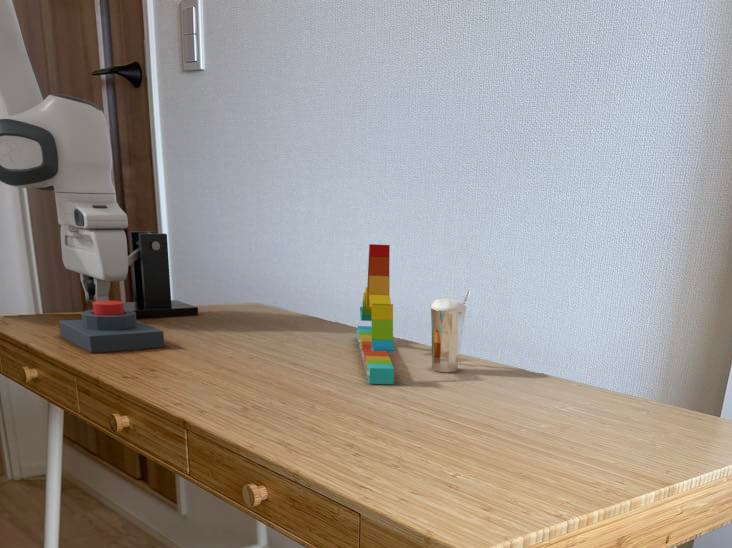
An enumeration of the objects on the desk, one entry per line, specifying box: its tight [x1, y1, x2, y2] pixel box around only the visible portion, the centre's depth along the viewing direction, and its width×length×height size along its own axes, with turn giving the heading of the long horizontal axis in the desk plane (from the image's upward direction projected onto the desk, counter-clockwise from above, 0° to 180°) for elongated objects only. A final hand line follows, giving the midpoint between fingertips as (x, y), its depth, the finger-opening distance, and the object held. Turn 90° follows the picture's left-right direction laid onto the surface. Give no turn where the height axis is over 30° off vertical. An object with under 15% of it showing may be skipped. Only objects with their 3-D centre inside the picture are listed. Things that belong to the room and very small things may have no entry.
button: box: [92, 300, 124, 315], centre depth 114 cm, size 4×4×2 cm
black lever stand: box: [123, 231, 199, 320], centre depth 138 cm, size 12×9×13 cm
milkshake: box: [430, 290, 471, 373], centre depth 107 cm, size 4×5×10 cm
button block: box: [58, 309, 165, 354], centre depth 115 cm, size 13×10×4 cm
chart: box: [355, 243, 396, 385], centre depth 111 cm, size 30×3×15 cm, turn 6°
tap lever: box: [86, 240, 140, 297], centre depth 135 cm, size 14×4×4 cm
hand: (97, 304), depth 134 cm, fingers closed on tap lever, 3 cm apart
